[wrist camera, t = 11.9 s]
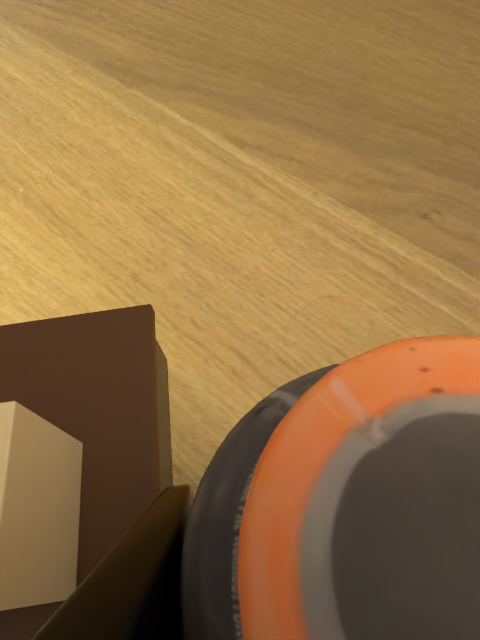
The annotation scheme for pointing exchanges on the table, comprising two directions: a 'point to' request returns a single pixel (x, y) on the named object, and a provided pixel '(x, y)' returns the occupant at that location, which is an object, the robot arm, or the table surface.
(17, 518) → the beige cube
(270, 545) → the pill bottle
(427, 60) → the table surface
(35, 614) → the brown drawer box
